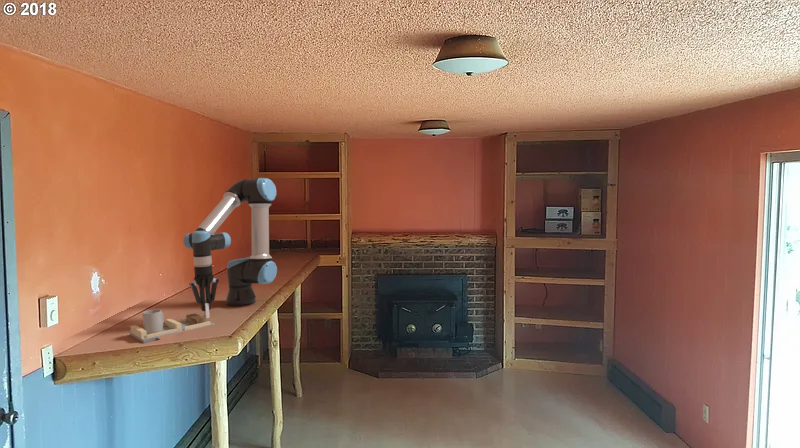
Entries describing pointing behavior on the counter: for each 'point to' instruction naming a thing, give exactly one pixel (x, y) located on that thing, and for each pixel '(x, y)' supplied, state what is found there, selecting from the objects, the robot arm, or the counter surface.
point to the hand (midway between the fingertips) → (206, 317)
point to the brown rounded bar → (195, 319)
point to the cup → (153, 321)
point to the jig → (166, 329)
